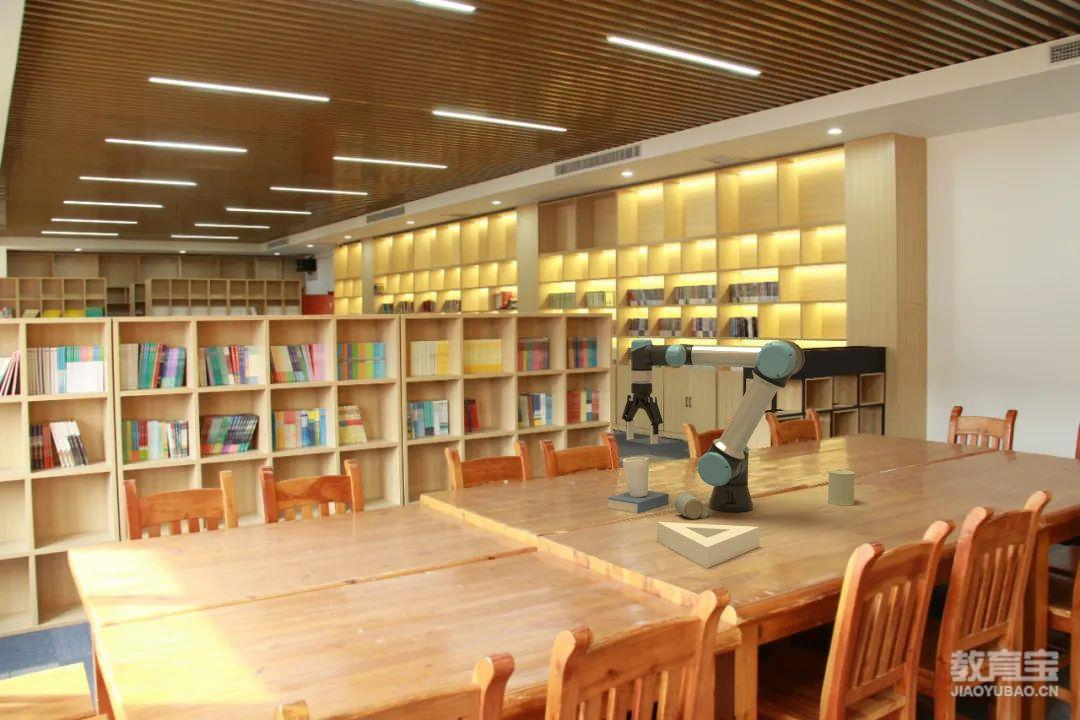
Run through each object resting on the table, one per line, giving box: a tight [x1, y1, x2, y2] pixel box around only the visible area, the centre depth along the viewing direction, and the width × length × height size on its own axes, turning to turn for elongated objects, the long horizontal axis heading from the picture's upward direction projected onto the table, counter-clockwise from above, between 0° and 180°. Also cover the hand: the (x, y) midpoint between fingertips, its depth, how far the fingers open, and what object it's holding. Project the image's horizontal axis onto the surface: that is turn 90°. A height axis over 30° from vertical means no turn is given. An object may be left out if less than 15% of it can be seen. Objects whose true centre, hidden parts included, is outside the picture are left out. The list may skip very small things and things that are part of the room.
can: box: [827, 469, 856, 507], centre depth 307 cm, size 9×9×12 cm
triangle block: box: [656, 521, 761, 569], centre depth 242 cm, size 30×26×6 cm
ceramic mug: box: [674, 492, 710, 520], centre depth 284 cm, size 11×8×8 cm
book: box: [607, 490, 670, 514], centre depth 301 cm, size 13×20×4 cm, turn 141°
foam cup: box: [622, 456, 650, 497], centre depth 300 cm, size 10×9×13 cm
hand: (641, 441), depth 301 cm, fingers open, 13 cm apart
